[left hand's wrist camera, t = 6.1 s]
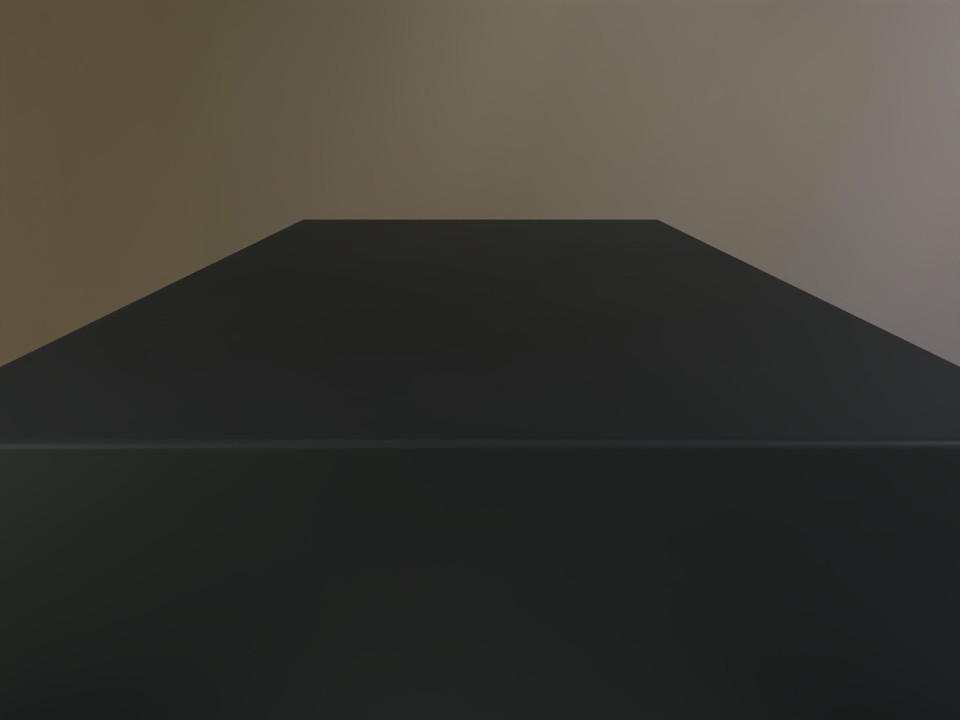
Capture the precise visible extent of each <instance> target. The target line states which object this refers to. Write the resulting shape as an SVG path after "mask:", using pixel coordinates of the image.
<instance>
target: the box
mask: <svg viewBox="0 0 960 720" xmlns="http://www.w3.org/2000/svg"><path fill="white" fill-rule="evenodd" d="M0 720H960V367H959V366H957V365H955V364H953V363H951V362H949V361H947V360H945V359H942V358H940V357H938V356H936V355H934V354H932V353H930V352H928V351H926V350H924V349H922V348H920V347H918V346H916V345H914V344H912V343H910V342H908V341H905V340H903V339H901V338H899V337H897V336H895V335H893V334H891V333H889V332H887V331H885V330H883V329H881V328H879V327H877V326H875V325H873V324H871V323H868V322H866V321H864V320H862V319H860V318H858V317H856V316H854V315H852V314H850V313H848V312H846V311H844V310H842V309H840V308H838V307H836V306H834V305H831V304H829V303H827V302H825V301H823V300H821V299H819V298H817V297H815V296H813V295H811V294H809V293H807V292H805V291H803V290H801V289H799V288H796V287H794V286H792V285H790V284H788V283H786V282H784V281H782V280H780V279H778V278H776V277H774V276H772V275H770V274H768V273H766V272H764V271H762V270H759V269H757V268H755V267H753V266H751V265H749V264H747V263H745V262H743V261H741V260H739V259H737V258H735V257H733V256H731V255H729V254H727V253H725V252H722V251H720V250H718V249H716V248H714V247H712V246H710V245H708V244H706V243H704V242H702V241H700V240H698V239H696V238H694V237H692V236H690V235H687V234H685V233H683V232H681V231H679V230H677V229H675V228H673V227H671V226H669V225H667V224H665V223H663V222H661V221H659V220H302V221H300V222H298V223H296V224H293V225H291V226H289V227H287V228H285V229H283V230H281V231H279V232H277V233H275V234H273V235H271V236H269V237H267V238H265V239H263V240H261V241H259V242H256V243H254V244H252V245H250V246H248V247H246V248H244V249H242V250H240V251H238V252H236V253H234V254H232V255H230V256H228V257H226V258H224V259H222V260H219V261H217V262H215V263H213V264H211V265H209V266H207V267H205V268H203V269H201V270H199V271H197V272H195V273H193V274H191V275H189V276H187V277H185V278H182V279H180V280H178V281H176V282H174V283H172V284H170V285H168V286H166V287H164V288H162V289H160V290H158V291H156V292H154V293H152V294H150V295H148V296H145V297H143V298H141V299H139V300H137V301H135V302H133V303H131V304H129V305H127V306H125V307H123V308H121V309H119V310H117V311H115V312H113V313H111V314H108V315H106V316H104V317H102V318H100V319H98V320H96V321H94V322H92V323H90V324H88V325H86V326H84V327H82V328H80V329H78V330H76V331H74V332H71V333H69V334H67V335H65V336H63V337H61V338H59V339H57V340H55V341H53V342H51V343H49V344H47V345H45V346H43V347H41V348H39V349H37V350H34V351H32V352H30V353H28V354H26V355H24V356H22V357H20V358H18V359H16V360H14V361H12V362H10V363H8V364H6V365H4V366H2V367H0Z"/></svg>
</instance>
